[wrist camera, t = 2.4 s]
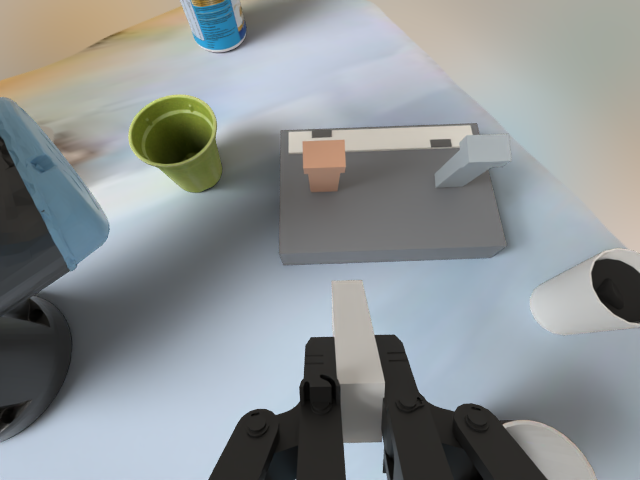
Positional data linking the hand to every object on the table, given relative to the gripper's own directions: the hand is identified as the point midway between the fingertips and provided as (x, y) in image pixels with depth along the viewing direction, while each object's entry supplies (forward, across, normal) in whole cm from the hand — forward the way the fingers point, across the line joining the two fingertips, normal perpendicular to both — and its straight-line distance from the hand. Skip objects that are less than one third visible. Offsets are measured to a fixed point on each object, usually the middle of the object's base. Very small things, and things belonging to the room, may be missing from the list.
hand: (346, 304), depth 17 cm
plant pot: (+30, -17, 0) cm, 35 cm away
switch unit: (+27, +6, -3) cm, 28 cm away
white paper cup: (+17, +24, -13) cm, 32 cm away
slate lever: (+24, +13, 0) cm, 27 cm away
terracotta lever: (+24, -1, 0) cm, 24 cm away
